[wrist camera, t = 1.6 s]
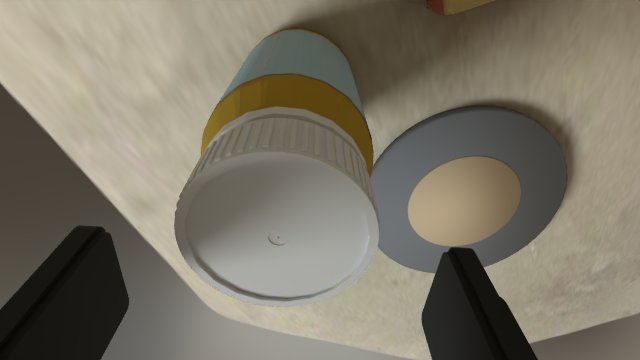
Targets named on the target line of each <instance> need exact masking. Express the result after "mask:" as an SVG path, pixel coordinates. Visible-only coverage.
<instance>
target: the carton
mask: <svg viewBox="0 0 640 360" xmlns="http://www.w3.org/2000/svg"><path fill="white" fill-rule="evenodd" d="M493 1H495V0H427V3H428V7H427V8H430V9H432V11H434V12H437V13H440V14H444V15H453V14H456V13H460V12H463V11H466V10H469V9H472V8H475V7H478V6H480V5H483V4H486V3H490V2H493Z"/></svg>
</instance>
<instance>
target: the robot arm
mask: <svg viewBox="0 0 640 360" xmlns="http://www.w3.org/2000/svg"><path fill="white" fill-rule="evenodd" d="M128 305H129V297H128V294H127V290H126V287H125V284H124V280H123V276H122V272H121V269H120V266H119V262H118V258H117V255H116V251H115V248H114V244H113V241H112V237H111V235H110V234H109V233H107V232H105V229H104V228H102V227H97V226H77V227H76V228H74V229H73V230H72V232H71V233H70V234H69V235H68V236H67V237H66V238H65V239H64V240H63V241H62V242H61V244H60V245H59V246H58V247H57V248H56V249H55V250H54V251H53V253H51V255H50V256H49V257H48V258H47V259H46V260H45V261H44V262H43V263H42V264H41V266H40V267H39V268H38V269H37V270H36V271H35V272H34V273H33V274H32V275H31V277H30V278H29V279H28V280H27V281H26V282H25V283H24V284H23V285H22V287H21V288H20V289H19V290H18V291H17V292H16V293H15V294H14V295H13V297H11V299H10V300H9V301H8V302H7V303H6V304H5V305H4V306H3V307H2V308H1V310H0V360H100V359H101V358H102V356H103V354H104V352H105V350H106V348H107V347H108V345H109V343H110V341H111V339H112V337H113V336H114V334H115V332H116V330H117V328H118V326H119V325H120V323H121V321H122V319H123V317H124V315H125V314H126V311H127V309H128ZM422 326H423V329H424V333H425V336H426V340H427V343H428V347H429V350H430V354H431V357H432V360H538V359H537V358H536V356H535V354H534V352H533V350H532V348H531V346H530V345H529V343H528V341H527V339H526V337H525V336H524V334H523V332H522V330H521V328H520V327H519V325H518V323H517V321H516V319H515V318H514V316H513V314H512V312H511V310H510V309H509V307H508V305H507V303H506V302H505V301H504V299H502V298H501V297H499V295H498V293H497V292H496V290H495V288H494V286H493V284H492V282H491V281H490V279H489V277H488V275H487V273H486V271H485V269H484V268H483V266H482V264H481V262H480V260H479V258H478V257H477V255H476V253H475V251H474V250H473V249H472V248H460V247H451V248H450V249H449V250H448V252H443V254H442V256H441V259H440V262H439V265H438V268H437V271H436V274H435V277H434V280H433V283H432V286H431V288H430V291H429V294H428V297H427V300H426V303H425V306H424V309H423V312H422Z"/></svg>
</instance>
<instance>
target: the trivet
mask: <svg viewBox="0 0 640 360" xmlns="http://www.w3.org/2000/svg"><path fill="white" fill-rule="evenodd" d="M370 180H371V184H372V189H373V193H374V197H375V201H376V205H377V210H378V214H379V220H380V225H379V227H380V234H379V242H378V247H379V249H380V250H381V251H382V252H383V253H384V254H386V255H387V256H388V257H389V258H391V259H392V260H394V261H396V262H397V263H399V264H401V265H404V266H406V267H408V268H411V269H415V270H418V271H423V272H429V273H436V271H437V268H438V265H439V262H440V259H441V256H442V254H443V252H448V250H449V249H450V248H451V247H460V248H472V249H473V250H474V251H475V253H476V255H477V257H478V258H479V260H480V262H481V264H482V266H483V267H486V266H489V265H491V264H494V263H496V262H499V261H501V260H503V259H505V258H507V257H509V256H511V255H512V254H514V253H516V252H518V251H519V250H520V249H522V248H523V247H525V246H526V245H527V244H529V243H530V242H531V241H532V240H534V239H535V238H536V237H537V236H538V235H539V234H540V233H541V232H542V231H543V230H544V229H545V227H546V226H547V225H548V224H549V222H550V221H551V220H552V218H553V217H554V215H555V214H556V212H557V210H558V208H559V206H560V204H561V202H562V200H563V196H564V193H565V190H566V183H567V166H566V161H565V157H564V155H563V152H562V150H561V148H560V146H559V144H558V143H557V142H556V140H555V139H554V137H553V136H552V135H551V134H550V133H549V132H548V131H547V130H545V129H544V128H543V127H542V126H540V125H539V124H538V123H536V122H535V121H533V120H532V119H530V118H529V117H527V116H525V115H523V114H521V113H519V112H516V111H513V110H509V109H506V108H500V107H493V106H471V107H462V108H457V109H453V110H449V111H445V112H442V113H439V114H437V115H434V116H431V117H429V118H427V119H425V120H423V121H421V122H419V123H417V124H416V125H414V126H413V127H411V128H409V129H408V130H406V131H405V132H404V133H402V134H401V135H400V136H399V137H397V138H396V139H395V140H394V141H393V142H392V143H391V144H390V145H389V146H388V147H387V148H386V149H385V150H384V152H383V153H382V154H381V155H380V157H379V158H378V159H377V161H376V163H375V164H374V166H373V170H372V174H371V177H370Z"/></svg>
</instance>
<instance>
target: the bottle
mask: <svg viewBox="0 0 640 360" xmlns="http://www.w3.org/2000/svg"><path fill="white" fill-rule="evenodd" d="M372 170H373V145H372V138H371V135H370V132H369V128H368V125H367V121H366V118H365V115H364V111H363V108H362V105H361V101H360V98H359V94H358V91H357V88H356V84H355V81H354V78H353V74H352V71H351V68H350V65H349V63H348V61H347V59H346V57H345V56H344V54H343V53H342V52H341V50H340V49H339V48H338V46H337V45H336V44H335V43H333V42H332V41H331V40H329V39H328V38H326V37H325V36H323V35H321V34H319V33H317V32H313V31H310V30H306V29H285V30H281V31H279V32H276V33H274V34H271V35H269V36H267V37H266V38H264V39H263V40H262V41H261V42H260V43H259V44H258V45H257V46H256V47H255V48H254V49H253V50H252V51H251V52H250V54H249V56H248V57H247V59H246V60H245V62H244V63H243V65H242V67H241V68H240V70H239V71H238V73H237V74H236V76H235V78H234V79H233V81H232V82H231V84H230V85H229V87H228V89H227V90H226V92H225V93H224V95H223V96H222V98H221V100H220V101H219V103H218V104H217V106H216V108H215V110H214V111H213V113H212V115H211V117H210V119H209V121H208V123H207V125H206V127H205V129H204V133H203V138H202V146H201V157H200V159H199V161H198V163H197V165H196V166H195V168H194V170H193V172H192V174H191V175H190V177H189V179H188V181H187V183H186V184H185V186H184V188H183V190H182V192H181V194H180V196H179V200H178V202H177V205H176V206H177V210H176V211H175V224H174V227H175V236H176V240H177V244H178V247H179V249H180V252H181V254H182V256H183V257H184V259H185V261H186V262H187V263H188V265H189V266H190V267H191V269H192V270H193V271H194V272H195V273H196V274H197V275H198V276H199V277H200V278H201V279H202V280H204V281H205V282H206V283H208V284H209V285H210V286H212V287H213V288H215V289H217V290H218V291H220V292H222V293H224V294H226V295H228V296H230V297H233V298H235V299H238V300H241V301H244V302H248V303H252V304H257V305H263V306H271V307H293V306H302V305H308V304H312V303H316V302H320V301H323V300H325V299H328V298H330V297H333V296H335V295H337V294H339V293H341V292H342V291H344V290H346V289H347V288H349V287H350V286H351V285H353V284H354V283H355V282H356V281H357V280H358V279H359V278H360V277H361V276H362V275H363V274H364V273H365V271H366V270H367V269H368V267H369V266H370V264H371V262H372V260H373V258H374V256H375V254H376V251H377V247H378V242H379V234H380V227H379V225H380V220H379V214H378V210H377V205H376V201H375V197H374V193H373V189H372V184H371V180H370V177H371V174H372Z"/></svg>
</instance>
